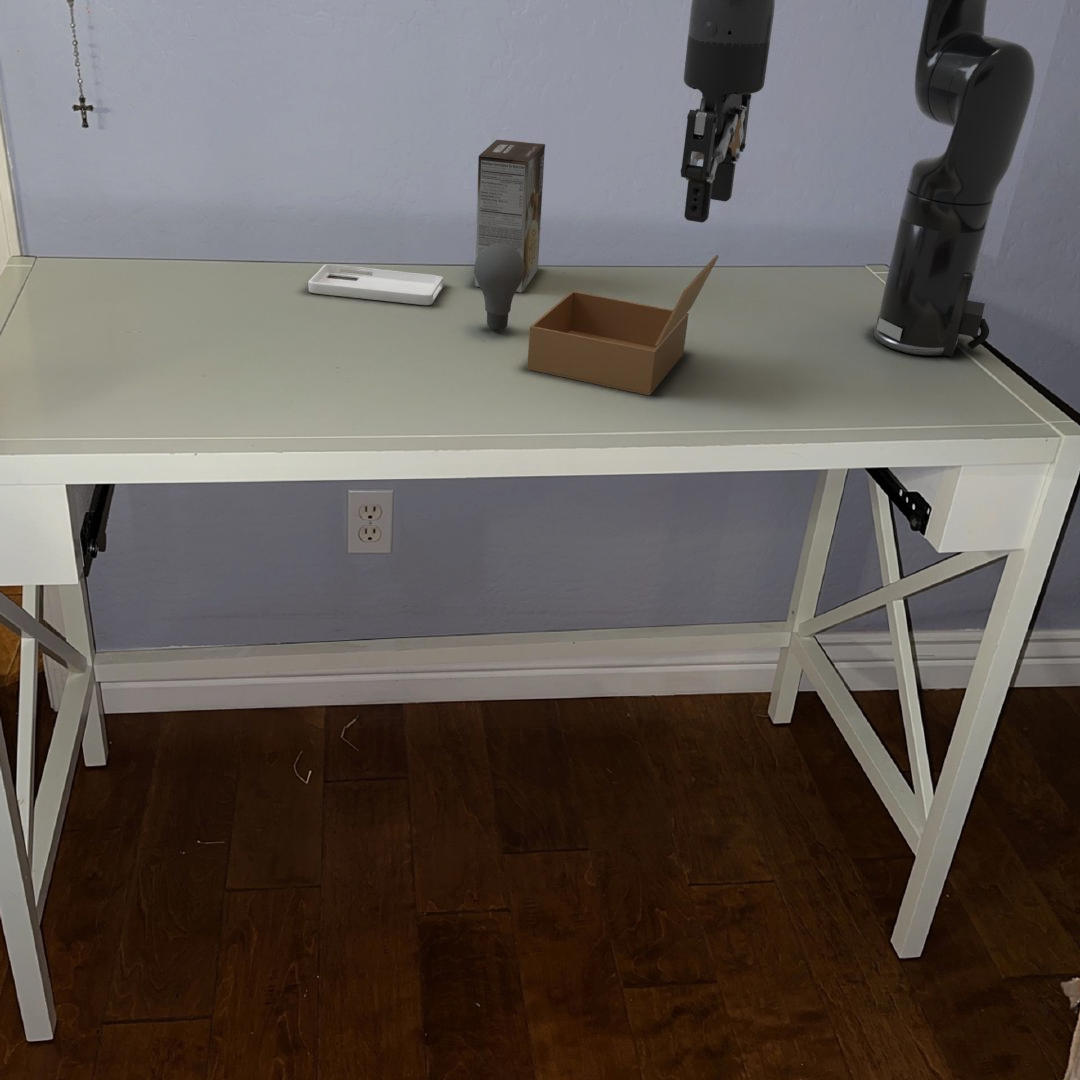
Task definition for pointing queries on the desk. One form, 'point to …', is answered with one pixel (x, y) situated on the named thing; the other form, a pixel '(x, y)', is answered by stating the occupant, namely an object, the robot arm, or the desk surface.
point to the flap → (686, 300)
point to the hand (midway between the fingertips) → (708, 209)
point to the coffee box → (511, 200)
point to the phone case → (377, 285)
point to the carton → (606, 342)
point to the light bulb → (498, 281)
